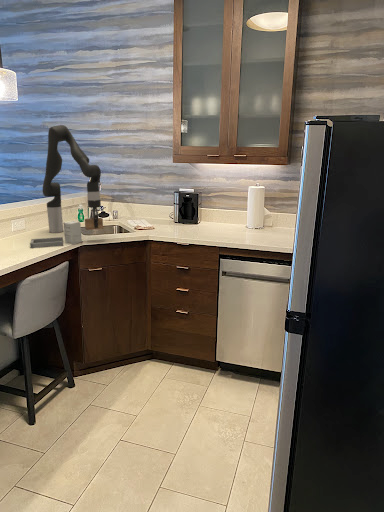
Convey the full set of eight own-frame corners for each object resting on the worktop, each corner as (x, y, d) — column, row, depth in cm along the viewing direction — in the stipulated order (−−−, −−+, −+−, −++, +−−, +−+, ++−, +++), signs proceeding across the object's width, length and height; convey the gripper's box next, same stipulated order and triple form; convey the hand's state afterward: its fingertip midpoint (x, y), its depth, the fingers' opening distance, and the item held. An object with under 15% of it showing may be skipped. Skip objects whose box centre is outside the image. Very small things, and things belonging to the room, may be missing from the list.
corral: (31, 243, 240) (31, 239, 240) (63, 240, 246) (62, 236, 245) (30, 248, 228) (30, 243, 227) (63, 245, 233) (63, 241, 233)
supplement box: (75, 240, 246) (73, 220, 243) (82, 242, 242) (80, 221, 239) (64, 242, 241) (62, 222, 238) (71, 244, 236) (70, 223, 233)
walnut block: (85, 228, 243) (84, 218, 241) (101, 227, 247) (101, 217, 245) (86, 229, 239) (85, 220, 237) (103, 228, 243) (102, 218, 241)
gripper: (86, 198, 244) (88, 225, 249) (88, 200, 231) (90, 229, 235) (99, 197, 246) (101, 224, 251) (101, 200, 233) (103, 228, 238)
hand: (95, 226), depth 243 cm, fingers closed on walnut block, 4 cm apart
